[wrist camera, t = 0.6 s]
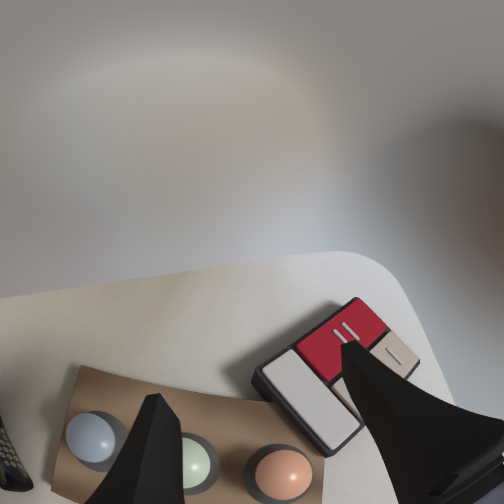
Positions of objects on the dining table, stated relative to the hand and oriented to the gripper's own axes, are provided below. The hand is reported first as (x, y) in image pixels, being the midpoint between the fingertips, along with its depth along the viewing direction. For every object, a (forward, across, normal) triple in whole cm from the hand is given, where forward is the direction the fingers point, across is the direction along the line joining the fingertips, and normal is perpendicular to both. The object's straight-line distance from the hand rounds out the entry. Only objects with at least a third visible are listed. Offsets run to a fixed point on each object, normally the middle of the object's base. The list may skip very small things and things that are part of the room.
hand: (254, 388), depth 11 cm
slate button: (+6, +16, +10) cm, 20 cm away
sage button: (+4, +8, +13) cm, 16 cm away
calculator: (+12, -7, +18) cm, 23 cm away
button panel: (+6, +9, +16) cm, 19 cm away
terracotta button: (+2, +1, +16) cm, 16 cm away
